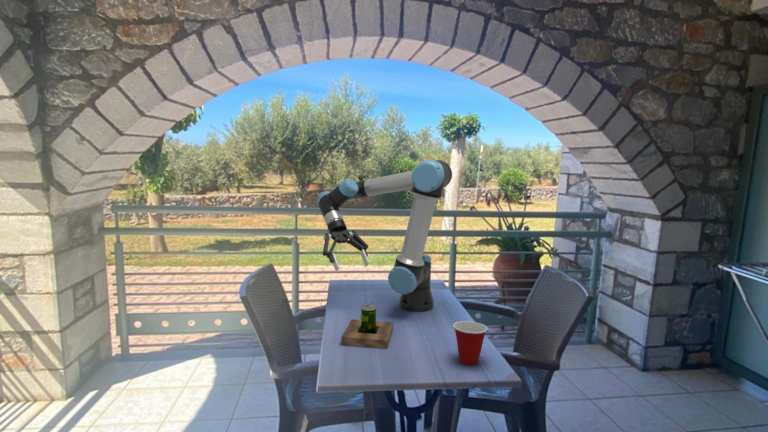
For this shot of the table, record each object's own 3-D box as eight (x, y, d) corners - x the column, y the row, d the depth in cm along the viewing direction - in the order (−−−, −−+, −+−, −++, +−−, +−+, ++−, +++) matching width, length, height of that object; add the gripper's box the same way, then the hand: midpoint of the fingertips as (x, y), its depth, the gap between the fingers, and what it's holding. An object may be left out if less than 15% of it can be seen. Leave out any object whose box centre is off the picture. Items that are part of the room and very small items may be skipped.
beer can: (367, 332, 155) (368, 301, 153) (378, 336, 151) (379, 305, 150) (357, 337, 151) (358, 305, 149) (368, 341, 147) (369, 309, 146)
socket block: (393, 329, 158) (393, 322, 157) (387, 348, 142) (387, 340, 142) (351, 326, 160) (351, 319, 160) (341, 345, 144) (341, 336, 144)
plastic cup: (487, 356, 138) (489, 321, 136) (484, 371, 127) (486, 334, 126) (454, 351, 141) (456, 317, 139) (448, 365, 131) (450, 329, 129)
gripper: (357, 226, 186) (375, 267, 176) (305, 231, 172) (321, 276, 162) (364, 216, 180) (382, 257, 170) (310, 220, 167) (327, 266, 157)
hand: (352, 266), depth 166 cm, fingers open, 13 cm apart
